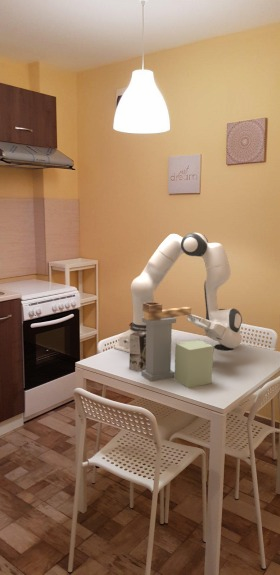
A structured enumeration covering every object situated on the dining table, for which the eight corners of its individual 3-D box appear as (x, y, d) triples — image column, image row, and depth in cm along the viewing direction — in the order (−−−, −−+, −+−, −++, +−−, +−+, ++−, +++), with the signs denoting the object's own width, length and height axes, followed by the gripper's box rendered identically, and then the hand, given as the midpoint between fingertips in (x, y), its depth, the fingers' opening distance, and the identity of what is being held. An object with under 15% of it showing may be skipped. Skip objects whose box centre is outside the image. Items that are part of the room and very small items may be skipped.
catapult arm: (185, 312, 199) (185, 298, 198) (193, 315, 194) (193, 301, 193) (142, 317, 189) (142, 302, 188) (149, 320, 183) (149, 305, 182)
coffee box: (141, 371, 199) (141, 336, 196) (128, 368, 202) (129, 334, 199) (150, 365, 207) (151, 331, 204) (138, 362, 210) (139, 329, 207)
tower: (164, 370, 200) (165, 314, 196) (174, 376, 193) (176, 318, 189) (141, 375, 194) (142, 317, 190) (150, 381, 187) (151, 321, 183)
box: (197, 375, 195) (198, 339, 193) (211, 382, 187) (213, 346, 184) (174, 379, 190) (175, 343, 187) (188, 387, 181) (189, 350, 178)
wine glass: (219, 343, 243) (221, 307, 239) (237, 347, 237) (239, 310, 233) (210, 347, 235) (211, 310, 231) (228, 351, 228) (230, 313, 225)
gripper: (203, 318, 215) (183, 306, 208) (231, 328, 197) (211, 315, 190) (197, 329, 214) (177, 318, 207) (225, 341, 197) (204, 329, 190)
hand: (193, 317), depth 198 cm, fingers open, 8 cm apart
